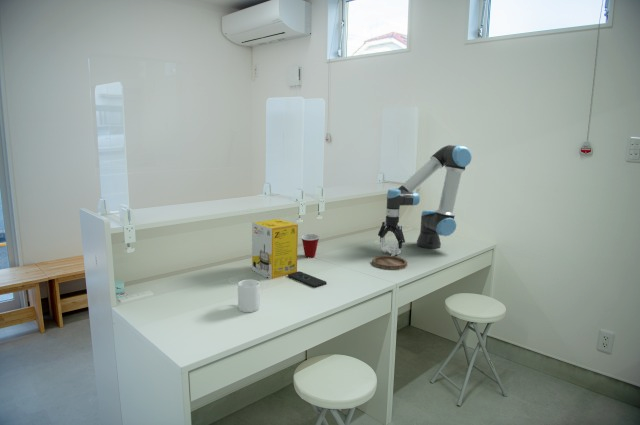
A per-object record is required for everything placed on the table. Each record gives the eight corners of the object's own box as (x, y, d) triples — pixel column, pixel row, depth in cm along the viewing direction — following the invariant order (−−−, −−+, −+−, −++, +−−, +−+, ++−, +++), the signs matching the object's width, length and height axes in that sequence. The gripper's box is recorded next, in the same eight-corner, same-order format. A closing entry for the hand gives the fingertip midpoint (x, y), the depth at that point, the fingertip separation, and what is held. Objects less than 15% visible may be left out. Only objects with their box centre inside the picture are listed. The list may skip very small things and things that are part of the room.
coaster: (389, 257, 245) (390, 254, 245) (413, 266, 231) (413, 262, 230) (365, 262, 235) (365, 258, 235) (389, 271, 220) (389, 268, 220)
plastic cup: (296, 257, 241) (297, 236, 239) (306, 252, 250) (306, 232, 248) (313, 260, 236) (314, 239, 234) (322, 255, 245) (323, 235, 243)
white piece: (395, 242, 244) (379, 240, 253) (395, 257, 245) (379, 254, 254) (402, 241, 249) (385, 238, 257) (402, 255, 250) (385, 252, 258)
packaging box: (252, 270, 216) (252, 222, 212) (277, 264, 227) (278, 218, 222) (270, 279, 205) (271, 228, 200) (297, 272, 215) (297, 224, 211)
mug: (247, 300, 179) (247, 275, 177) (264, 309, 171) (264, 283, 168) (229, 305, 173) (229, 280, 171) (246, 315, 165) (245, 288, 163)
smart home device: (299, 270, 214) (327, 281, 200) (299, 274, 214) (327, 285, 200) (286, 274, 208) (314, 285, 194) (286, 277, 209) (314, 289, 195)
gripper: (373, 212, 256) (371, 246, 260) (403, 220, 235) (401, 257, 240) (382, 211, 260) (380, 245, 264) (412, 219, 240) (410, 255, 244)
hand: (390, 250), depth 252 cm, fingers open, 13 cm apart
